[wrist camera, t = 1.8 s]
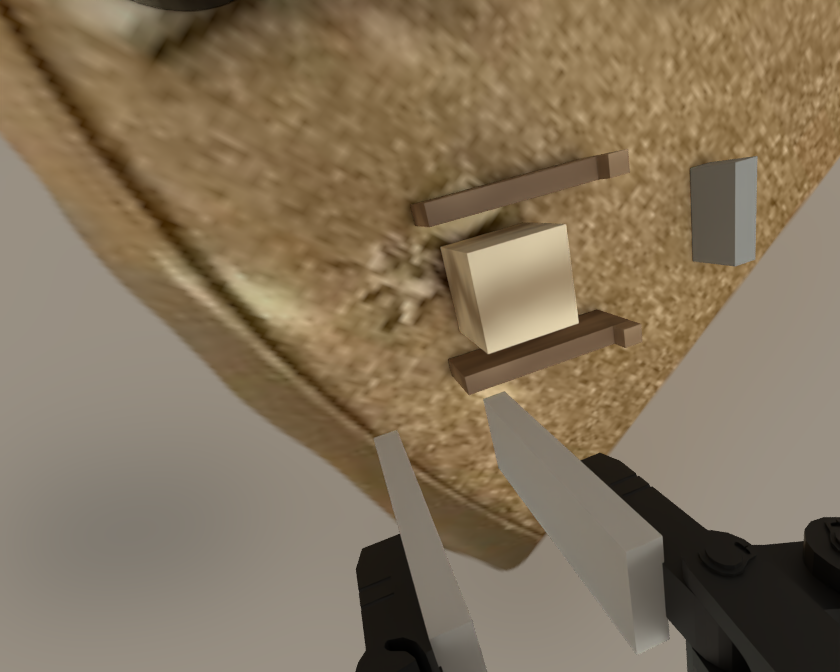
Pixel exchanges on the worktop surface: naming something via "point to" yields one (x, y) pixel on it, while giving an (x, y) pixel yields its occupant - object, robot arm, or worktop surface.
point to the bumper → (724, 211)
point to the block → (512, 284)
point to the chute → (557, 346)
